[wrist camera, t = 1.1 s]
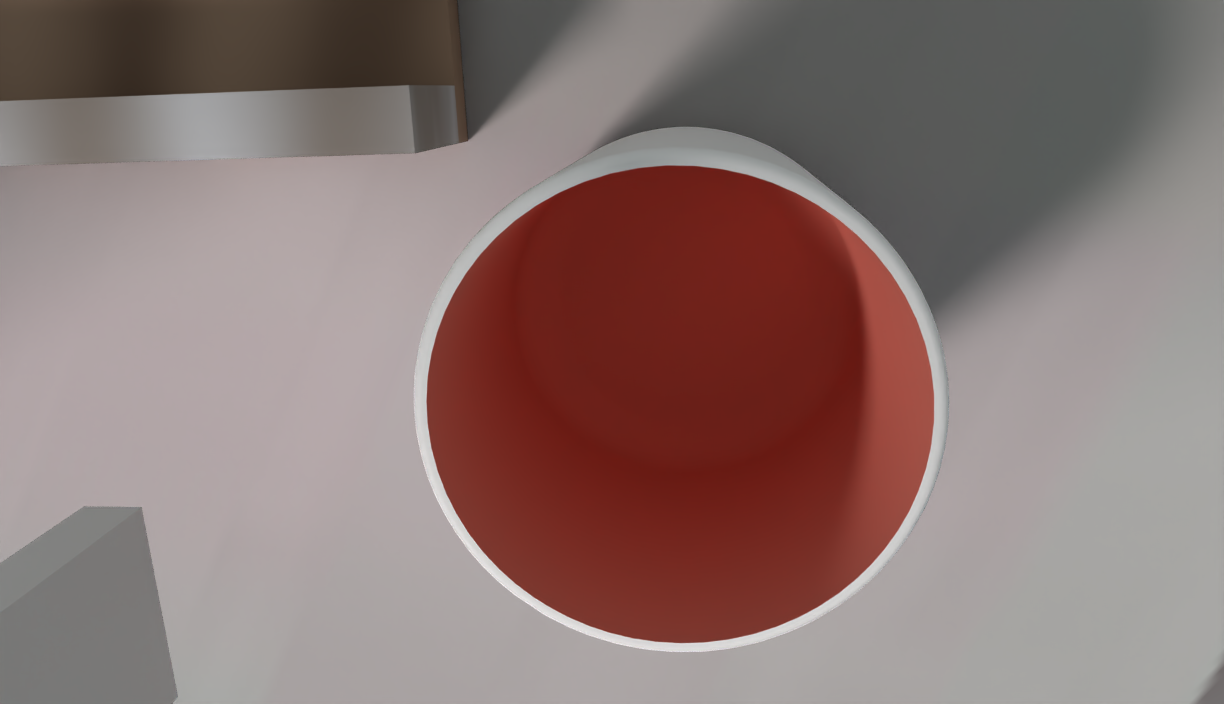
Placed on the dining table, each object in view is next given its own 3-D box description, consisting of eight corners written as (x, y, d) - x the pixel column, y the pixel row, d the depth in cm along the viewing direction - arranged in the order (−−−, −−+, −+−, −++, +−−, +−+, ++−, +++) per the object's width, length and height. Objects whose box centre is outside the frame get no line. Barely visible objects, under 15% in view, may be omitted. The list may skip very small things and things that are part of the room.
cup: (455, 353, 28) (325, 494, 18) (624, 54, 25) (576, 33, 15) (736, 519, 28) (753, 739, 19) (932, 245, 26) (1070, 340, 16)
